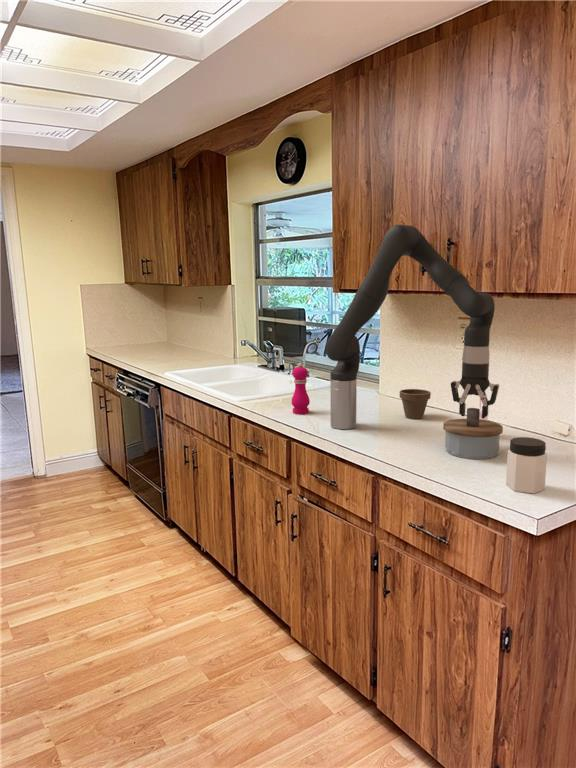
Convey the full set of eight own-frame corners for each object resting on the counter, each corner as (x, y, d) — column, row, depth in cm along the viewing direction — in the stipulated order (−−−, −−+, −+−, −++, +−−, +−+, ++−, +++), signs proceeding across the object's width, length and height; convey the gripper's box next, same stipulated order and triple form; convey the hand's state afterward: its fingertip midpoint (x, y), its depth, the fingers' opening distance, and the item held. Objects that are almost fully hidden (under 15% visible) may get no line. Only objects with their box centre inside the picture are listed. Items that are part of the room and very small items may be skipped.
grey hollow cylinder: (440, 444, 179) (441, 423, 178) (488, 444, 179) (489, 422, 178) (453, 459, 164) (454, 436, 163) (505, 459, 164) (506, 435, 163)
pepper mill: (299, 415, 220) (298, 364, 217) (288, 412, 226) (287, 362, 222) (313, 412, 224) (313, 363, 221) (302, 409, 230) (301, 361, 227)
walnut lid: (436, 422, 179) (437, 403, 178) (490, 421, 179) (491, 402, 178) (452, 437, 162) (453, 416, 161) (511, 436, 162) (513, 415, 161)
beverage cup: (489, 438, 186) (492, 396, 183) (470, 437, 187) (472, 395, 184) (486, 433, 192) (488, 392, 189) (468, 432, 193) (469, 392, 190)
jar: (529, 496, 136) (532, 448, 134) (500, 486, 143) (502, 441, 141) (550, 488, 141) (553, 441, 139) (520, 479, 148) (523, 434, 146)
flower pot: (417, 412, 222) (418, 387, 221) (436, 418, 212) (437, 392, 210) (392, 415, 218) (393, 390, 216) (410, 422, 208) (411, 395, 206)
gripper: (503, 360, 166) (500, 416, 169) (454, 357, 173) (452, 411, 177) (498, 364, 160) (495, 422, 163) (447, 361, 167) (445, 417, 170)
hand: (473, 416), depth 170 cm, fingers open, 5 cm apart
